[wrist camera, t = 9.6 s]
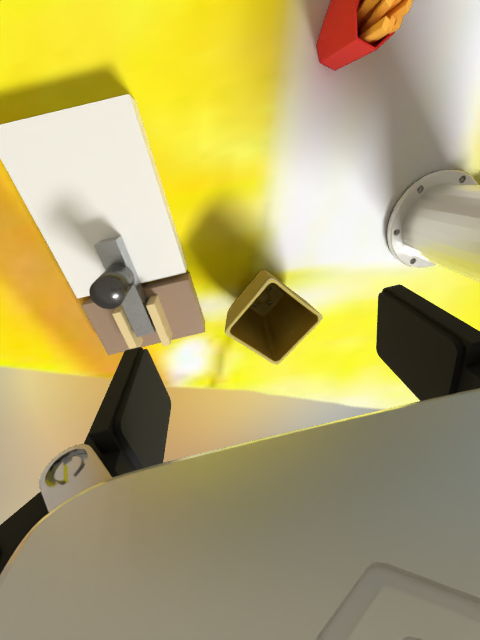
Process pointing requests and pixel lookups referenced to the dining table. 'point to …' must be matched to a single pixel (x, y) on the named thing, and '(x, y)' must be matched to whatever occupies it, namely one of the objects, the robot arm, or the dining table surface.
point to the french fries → (357, 29)
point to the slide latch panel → (104, 211)
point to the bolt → (121, 286)
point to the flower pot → (270, 318)
